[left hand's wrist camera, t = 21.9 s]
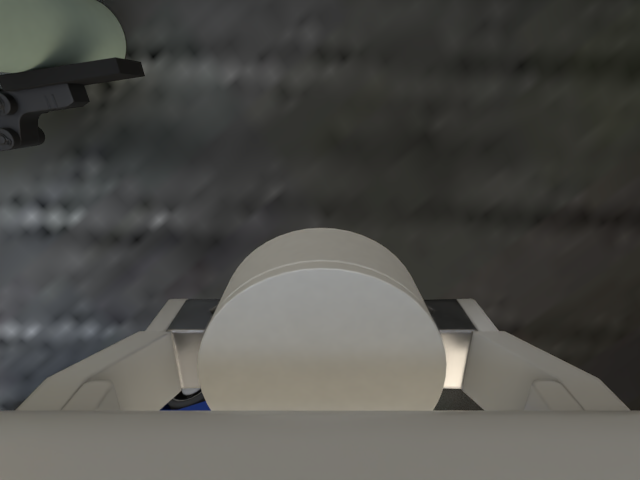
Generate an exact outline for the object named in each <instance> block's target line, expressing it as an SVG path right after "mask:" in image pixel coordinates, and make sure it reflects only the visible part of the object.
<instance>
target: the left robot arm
mask: <svg viewBox="0 0 640 480" xmlns="http://www.w3.org/2000/svg"><path fill="white" fill-rule="evenodd" d="M423 301H424V303H425V305H426V307H427V309H428V311H429V313H430V315H431V317H432V319H433V321H434V323H435V324H436V327H437V329H438V331H439V333H440V335H441V337H442V341H443V344H444V348H445V353H446V363H447V365H446V378H445V382H444V386H443V388H455V389H462V391H463V392H464V393H466V394H467V395H468V396H469V397H470V398H471V399H472V400H474V401H475V402H476V403H477V404H478V405H479V406H480V407H481V408H483V409H484V410H485V411H159V410H160V409H161V408H162V407H164V406H165V405H166V404H167V403H168V402H169V401H170V400H171V399H173V398H174V397H175V396H176V395H177V394H178V393H179V392H180V391H182V389H188V388H201V387H200V383H199V378H198V367H197V365H198V353H199V349H200V345H201V341H202V338H203V336H204V334H205V331H206V329H207V327H208V325H209V323H210V321H211V319H212V316H213V314H214V312H215V310H216V308H217V306H218V304H219V302H220V300H217V299H170V300H168V301H167V303H166V304H165V305H164V307H163V308H162V309H161V311H160V312H159V313H158V315H157V316H156V317H155V319H154V320H153V321H152V322H151V324H150V325H149V326H148V328H147V329H146V330H145V331H139V332H137V333H135V334H133V335H131V336H129V337H127V338H125V339H123V340H121V341H119V342H117V343H115V344H113V345H111V346H109V347H107V348H105V349H103V350H101V351H99V352H97V353H95V354H93V355H91V356H89V357H87V358H86V359H84V360H82V361H80V362H78V363H76V364H74V365H72V366H70V367H68V368H66V369H64V370H62V371H60V372H58V373H56V374H54V375H52V376H50V377H48V378H46V379H45V380H44V381H43V382H42V383H41V384H40V385H39V386H38V387H37V388H36V389H35V390H34V391H33V392H32V393H31V395H30V396H29V397H28V398H27V399H26V400H25V401H24V402H23V403H22V404H21V405H20V406H19V407H18V408H17V409H16V410H15V411H0V480H640V411H631V410H630V409H629V408H628V407H627V406H626V405H625V404H624V403H623V402H622V401H621V400H620V399H619V398H618V397H617V396H616V395H615V394H614V393H613V392H612V391H611V390H610V389H609V388H608V387H607V386H606V385H605V384H604V383H603V382H602V381H601V380H600V379H599V378H597V377H595V376H593V375H591V374H589V373H587V372H585V371H583V370H581V369H579V368H577V367H575V366H573V365H571V364H569V363H567V362H565V361H563V360H561V359H559V358H557V357H555V356H553V355H551V354H549V353H547V352H545V351H543V350H541V349H539V348H537V347H535V346H533V345H531V344H529V343H527V342H525V341H523V340H521V339H519V338H517V337H515V336H513V335H511V334H509V333H507V332H505V331H498V329H497V328H496V327H495V325H494V324H493V323H492V322H491V320H490V319H489V318H488V316H487V315H486V314H485V313H484V311H483V310H482V309H481V307H480V306H479V305H478V304H477V302H476V301H475V300H473V299H442V300H423Z"/></svg>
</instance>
